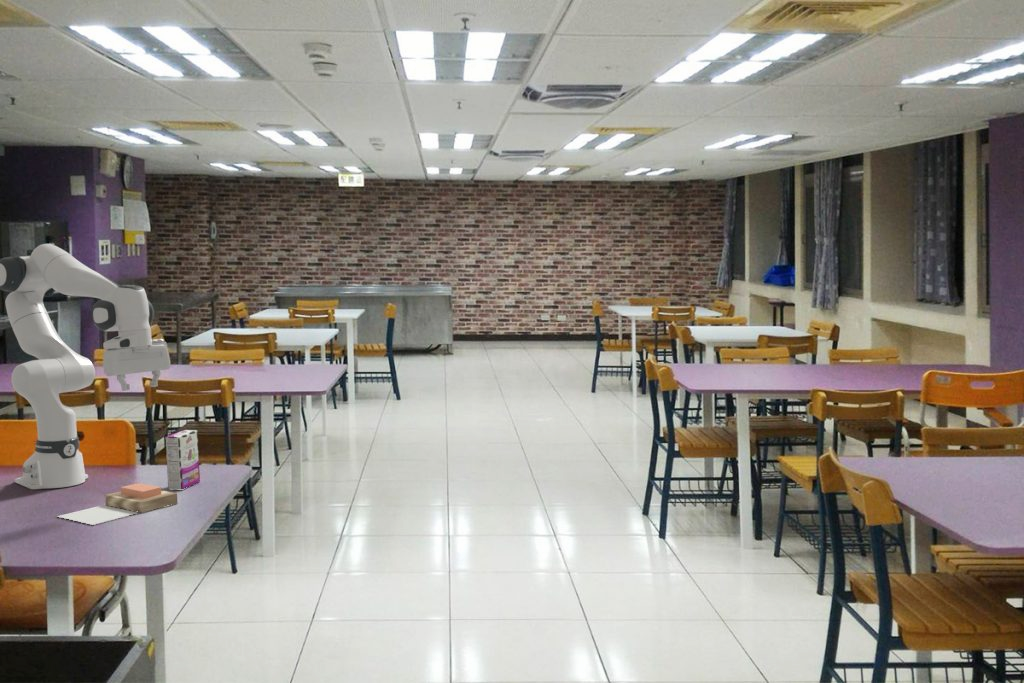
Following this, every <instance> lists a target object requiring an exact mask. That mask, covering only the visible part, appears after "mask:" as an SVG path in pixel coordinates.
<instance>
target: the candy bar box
mask: <svg viewBox="0 0 1024 683" xmlns="http://www.w3.org/2000/svg"><path fill="white" fill-rule="evenodd" d="M164 440H165V454H166V471H167V488H169V489H184V488H186V487H189V486H191V485H193V484H195V485H197V484H199V483H200V482H201V475H200V459H199V458H200V457H199V456H200V455H199V439H198V430H197V429H196V430H195V429H184V430H181V431H178V432H176V433H173V434H169V435H168V436H165V437H164ZM198 482H199V483H198ZM196 483H197V484H196ZM193 486H194V485H193ZM191 487H192V486H191ZM189 488H190V487H189ZM169 489H168V490H169ZM184 490H185V489H184Z"/></svg>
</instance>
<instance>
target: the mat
mask: <svg viewBox="0 0 1024 683" xmlns="http://www.w3.org/2000/svg"><path fill="white" fill-rule="evenodd" d="M137 513H138V512H134V511H129V510H124V509H120V508H115V507H111V506H106V505H97V506H94V507H89V508H86V509H81V510H77V511H74V512H69V513H66V514H65V513H64V514H61V515H57V516H56V518H57V517H59V518H58V519H61V518H64V519H63V520H66V519H69V520H68V521H70V520H73V521H72V522H74V521H78V522H81V523H80V524H82V523H86V524H85V525H87V524H90V525H89V526H91V525H94V526H97V525H96V524H98V525H101V524H100V523H102V524H105V523H104V522H106V523H109V522H108V521H110V522H112V521H111V520H113V521H116V520H115V519H117V520H119V519H118V518H121V517H125V516H129V515H133V514H136V515H138V514H137ZM133 516H134V515H133ZM129 517H130V516H129ZM125 518H126V517H125ZM121 519H122V518H121ZM78 522H77V523H78Z"/></svg>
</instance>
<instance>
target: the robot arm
mask: <svg viewBox="0 0 1024 683" xmlns="http://www.w3.org/2000/svg"><path fill="white" fill-rule="evenodd" d="M0 291H2V292H3V291H4V292H8V293H9V294H7V296H6V298H5V302H4V303H5V304H4V305H5V310H6V313H7V317H8V320H9V323H10V326H11V328H12V331H13V333H14V336H15V338H16V339H17V342H18V345H19V347H20V348H21V350H22V351H23V352H24V353H26V354H27V355H29V356H33V357H35V358H36V359H33V360H29V361H25V362H22V363H20V364H18V365H16V366H15V367H14V369H13V371H12V372H11V378H10V379H11V380H10V381H11V386H12V388H13V389H14V391H15V392H16V393H17V394H18V395H19V396H21V397H23V398H24V399H26V401H27V402H28V403H29V404H30V406H31V407H32V409H33V412H34V416H35V420H36V428H37V429H36V430H37V440H33V442H34V443H33V445H35V448H34V452H33V453H32V455H30V456H29V458H27V459H26V460H25V461H24V463H23V465H22V468H21V469H22V476H20V477H17V478H15V479H14V483H16V484H18V485H20V486H22V487H25V488H27V489H29V490H42V489H43V490H44V489H59V488H68V487H74V486H77V485H78V486H79V485H81V484H82V483H85V481H86V480H87V479H89V474H87V473H86V471H85V465H84V458H83V453H82V452H81V451H80V450H79V448H80V440H79V436H78V431H77V415H76V413H75V410H74V409H72V408H71V407H70V406H68V405H65V404H63V403H62V401H61V398H60V394H63V393H69V392H77V391H80V390H82V389H85V388H87V387H90V386H91V385H92V384H93V383H94V380H95V377H96V370H95V369H96V368H95V366H94V364H93V363H92V361H91V360H90V359H89V358H88V357H85V356H83V355H81V354H79V353H77V352H76V351H74V350H73V349H72V348H70V346H69V345H67V343H65V341H64V340H62V338H61V336H60V335H59V334H58V332H57V330H56V328H55V325H54V324H53V322H52V319H51V318H50V314H49V313H48V311H47V309H46V307H45V304H44V297H52V296H53V295H54V294H55V292H58V293H59V294H62V295H66V296H71V297H84V298H85V297H88V298H96V299H98V300H97V301H96V302H95V303H94V304H93V307H92V309H91V319H92V322H93V324H94V326H95V327H96V328H97V329H98V330H100V331H102V332H118V336H115V337H113V338H111V339H108V340H105V341H104V342H103V346H102V347H103V350H105V351H104V352H103V355H102V366H103V372H104V374H105V375H106V376H107V377H114V376H116V380H117V381H118V383H119V384H120V386H121V390H122V392H123V391H130V386H131V385H130V383H127V382H126V380H125V379H126V375H130V374H140V373H148V372H151V375H152V379H151V380H149V387H151V388H154V387H155V388H156V387H158V386H159V384H158V383H159V378H160V376H161V371H165V370H170V368H171V363H172V362H171V357H170V354H169V350H168V344H167V342H166V341H165V340H164V339H162V338H155V339H153V338H152V329H151V325H152V323H153V321H154V319H155V318H154V317H155V309H154V306H153V305H152V302H150V300H149V299H148V297H147V296H148V295H147V293H146V290H145V288H144V287H142V286H141V285H136V284H118V283H117V282H115V281H113V279H110V278H108V277H106V276H105V275H103V274H102V273H99V272H98V271H96V270H93V269H92V268H91V267H88V266H87V265H86V264H84V263H82V262H81V261H79V260H78V259H76V258H75V257H74V256H73V255H72V254H70V253H69V252H68V251H66V250H65V249H62V248H60V247H59V246H57V245H54V244H51V243H43V244H39V245H37V247H35V248H34V249H33V251H32V252H31V254H30V255H26V256H7V257H2V258H0Z"/></svg>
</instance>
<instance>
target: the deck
mask: <svg viewBox="0 0 1024 683" xmlns="http://www.w3.org/2000/svg"><path fill="white" fill-rule="evenodd" d="M104 496H105V497H104V498H105V506H106V505H108V506H109V507H111V506H113V508H115V507H118V509H120V508H124V509H128V510H127V511H129V510H133V511H132V512H134V511H138V512H144V513H147V512H146V511H148V512H150V511H149V510H152V511H154V510H153V509H156V508H159V509H161V508H160V507H163V508H165V507H164V506H167V505H171V504H175V505H177V504H178V493H177V492H172V491H167V490H162V489H161V494H160V495H156V496H152V497H148V498H144V499H142V498H137V497H132V496H128V495H123V494H121V490H120V491H117V492H112V493H108V494H105V495H104ZM176 503H177V504H176ZM171 506H172V505H171ZM167 507H168V506H167ZM124 509H123V510H124ZM156 510H157V509H156ZM138 512H137V513H138Z"/></svg>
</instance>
